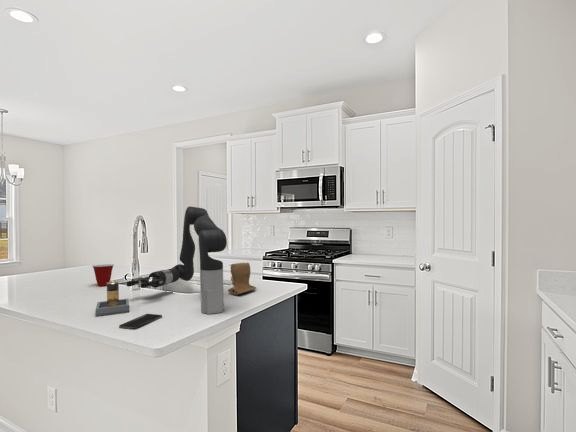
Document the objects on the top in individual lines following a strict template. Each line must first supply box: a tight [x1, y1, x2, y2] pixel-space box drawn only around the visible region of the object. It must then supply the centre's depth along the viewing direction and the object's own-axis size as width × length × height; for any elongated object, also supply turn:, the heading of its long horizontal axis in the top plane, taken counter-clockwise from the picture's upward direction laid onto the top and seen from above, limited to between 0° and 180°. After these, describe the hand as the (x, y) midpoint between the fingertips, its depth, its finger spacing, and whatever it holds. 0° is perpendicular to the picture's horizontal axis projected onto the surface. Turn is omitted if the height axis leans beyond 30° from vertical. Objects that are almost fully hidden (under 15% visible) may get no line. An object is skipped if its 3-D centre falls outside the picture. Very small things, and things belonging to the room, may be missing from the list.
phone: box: [118, 313, 163, 331], centre depth 129 cm, size 8×1×15 cm
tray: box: [95, 298, 130, 318], centre depth 145 cm, size 12×12×3 cm
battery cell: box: [106, 280, 120, 307], centre depth 145 cm, size 4×4×12 cm
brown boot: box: [227, 262, 257, 296], centre depth 174 cm, size 15×12×15 cm
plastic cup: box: [92, 263, 115, 288], centre depth 195 cm, size 11×11×12 cm
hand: (134, 285), depth 155 cm, fingers open, 8 cm apart
